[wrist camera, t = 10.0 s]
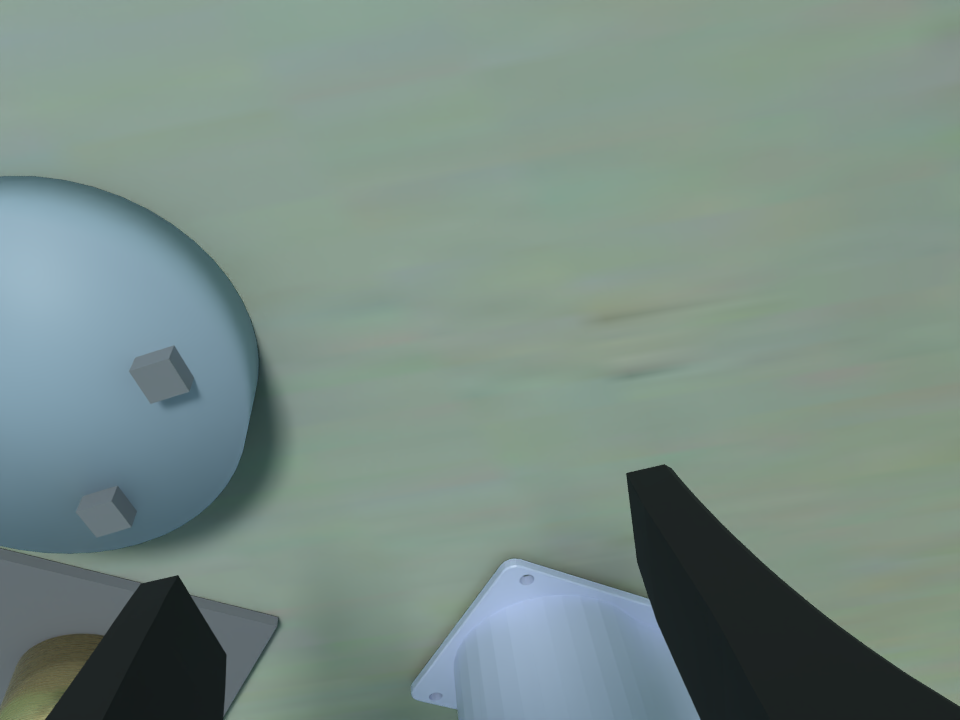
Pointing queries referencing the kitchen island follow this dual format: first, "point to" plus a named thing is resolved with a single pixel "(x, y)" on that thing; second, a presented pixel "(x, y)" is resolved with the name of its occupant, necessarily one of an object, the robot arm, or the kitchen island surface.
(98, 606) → the mat
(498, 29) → the kitchen island surface
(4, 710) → the knob
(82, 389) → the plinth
